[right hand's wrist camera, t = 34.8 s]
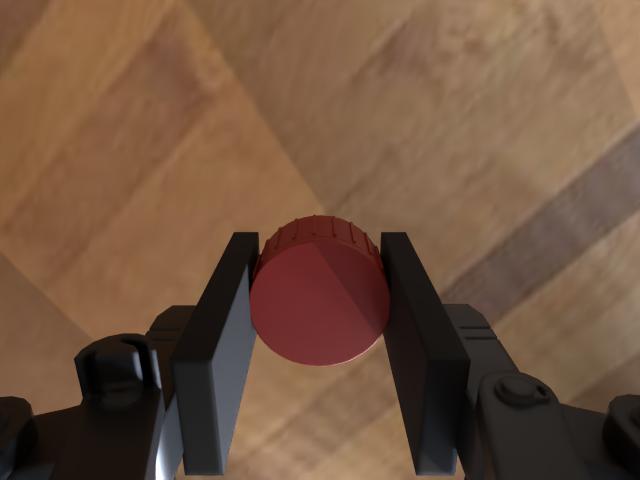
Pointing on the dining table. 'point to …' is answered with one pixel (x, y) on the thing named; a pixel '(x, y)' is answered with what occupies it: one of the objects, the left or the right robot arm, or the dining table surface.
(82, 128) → the dining table surface
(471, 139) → the dining table surface
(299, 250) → the cap
